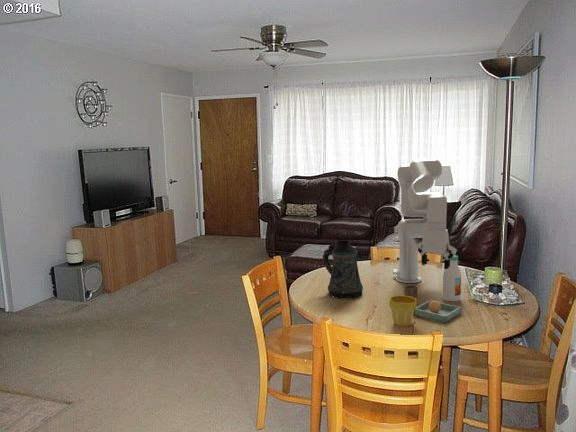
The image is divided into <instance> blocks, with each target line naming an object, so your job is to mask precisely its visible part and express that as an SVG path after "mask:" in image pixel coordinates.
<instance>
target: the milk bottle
mask: <svg viewBox="0 0 576 432" xmlns="http://www.w3.org/2000/svg"><path fill="white" fill-rule="evenodd" d="M458 262H459V255H456V254H455V255H454V256H453V257H452V258H451V259H450V267H449V268H448V269H443V272H442V273H443V275H442V299H443V301H447V302H459V301H461V299H462V296H461V295H462V273H461V269H460V266H459V264H458Z"/></svg>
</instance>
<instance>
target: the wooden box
mask: <svg viewBox="0 0 576 432" xmlns="http://www.w3.org/2000/svg"><path fill="white" fill-rule="evenodd" d="M403 295H404V296H410V297H413V298H415V299H416V300H417V301H418V286H415V285H411V284H408V285H405V286H404V287H403Z"/></svg>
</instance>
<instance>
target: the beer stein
mask: <svg viewBox="0 0 576 432" xmlns="http://www.w3.org/2000/svg"><path fill="white" fill-rule="evenodd" d="M358 253H359V251H358V250H357V248H355V246H353V245H352V244H351V243H350V242H349V241H348V240H338V241H337V242H335V243H330V245H329V246H328V249H325V250H324V251H323V255H322V262H323V265H324V268H325V269H326V271H327V272H328V273H329V274H330V279H329V283H328V284H327V285H328V286H327V289H328V290H327V291H328V294H330V295H331V296H330V295H329V296H330V297H332V296H334V297H333V298H335V297H338V298H337V299H340V298H352V299H356V297H357V298H360V297H361V296H362V295H363V290H364V289H363V288H364V287H363V284H362V282H361V277H360V272H359V267H358V260H357V256H358ZM330 256H332V263H330V260H329V257H330ZM359 296H360V297H359Z"/></svg>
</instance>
